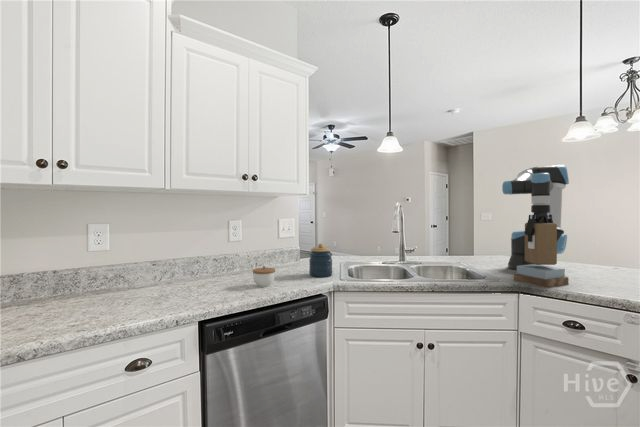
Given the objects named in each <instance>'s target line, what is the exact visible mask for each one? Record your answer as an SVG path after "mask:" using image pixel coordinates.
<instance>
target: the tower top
mask: <svg viewBox="0 0 640 427" xmlns="http://www.w3.org/2000/svg"><path fill="white" fill-rule="evenodd" d="M516 273H517V274H521V275H526V276H531V277H536V278H541V279H553V278H561V277H566V276H565V275H566V272H565V268H563V267H557V266H552V265H536V264H530V265H520V266H517V270H516Z"/></svg>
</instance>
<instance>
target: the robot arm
mask: <svg viewBox="0 0 640 427" xmlns="http://www.w3.org/2000/svg"><path fill="white" fill-rule="evenodd" d="M569 184H570V180H569V173H568V168H567V166H566V165H565V164H555V165H545V166H543V165H542V166H534V167H529V168H528V169H525V170H522V171H521V172H519V173H518V174H517V176H516V177H515V178H514V179H512V180H506V181H503V183H502V185H501V186H502V194H504V195H528V194H529V195H531V199H530V200H531V205H530V206H531V208H530V212H531V213H532V214H528V220H527V222H526V223H527V226H526V229H525V228H524V230H516V231H513V232H512V233H511V238H510V240H511V241H510V242H511V243H510V244H511V248H510V249H511V250H510V252H511V253H510V254H511V255H510V258H509V260H508V263H507V268H508V269H510V270H516V271H517V266H520V265H530V264H533V263H529V262H526V261H525V234H526V235H528V248H530V249H535V235H533V234H534V233H535V229H534V228H533V225H534V223H555V224H557V255H561V254H563V253H565V250H566V248H567V242H568V234H567V233H565V230H563V228H562V206H563V204H562V202H563V190H564V189H565V188H566V185H569Z"/></svg>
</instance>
